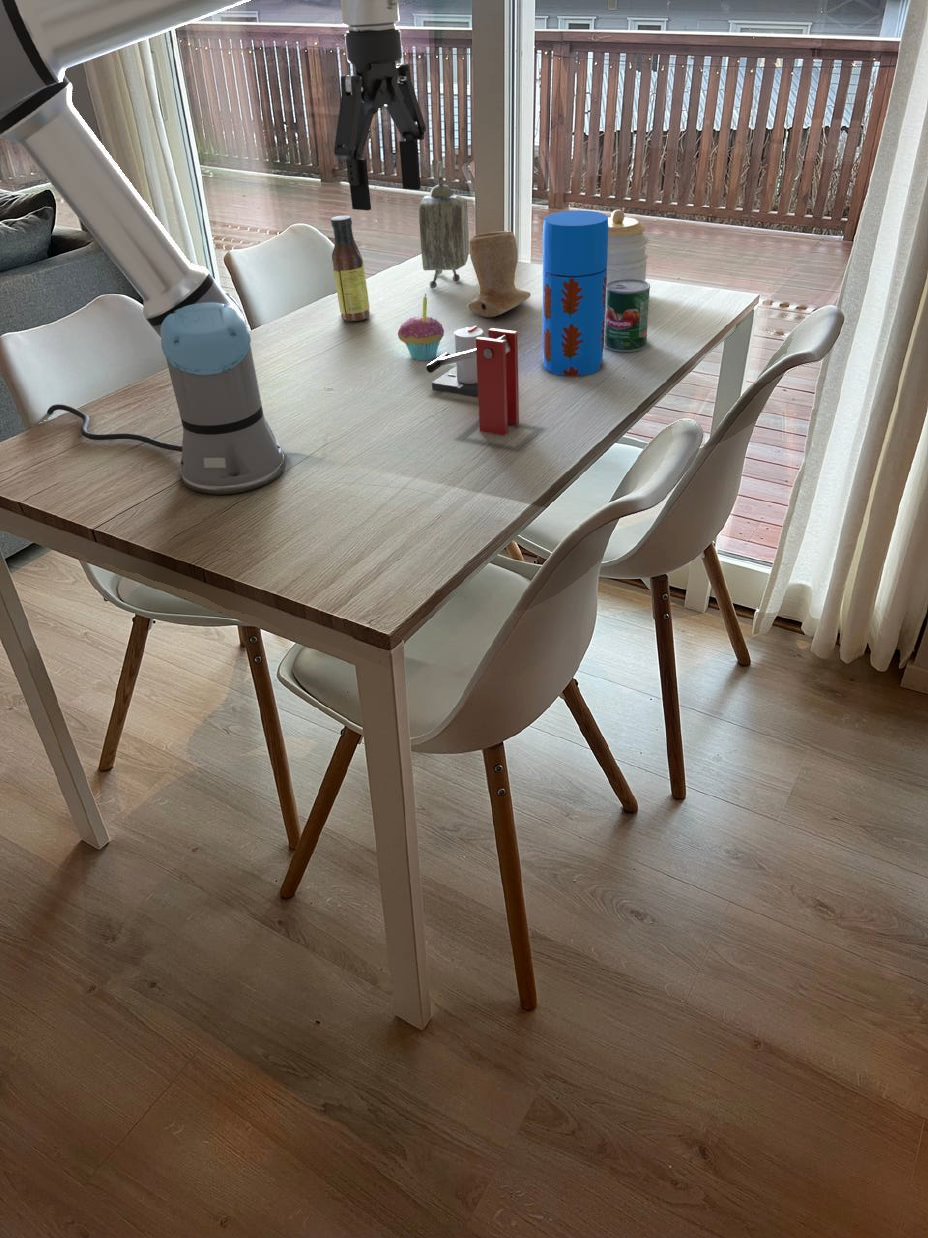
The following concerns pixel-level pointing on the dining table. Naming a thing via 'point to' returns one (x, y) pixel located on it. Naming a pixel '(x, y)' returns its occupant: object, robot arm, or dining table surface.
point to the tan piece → (495, 273)
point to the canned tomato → (626, 315)
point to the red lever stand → (497, 381)
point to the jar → (626, 248)
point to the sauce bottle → (349, 272)
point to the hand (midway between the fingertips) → (387, 198)
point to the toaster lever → (458, 357)
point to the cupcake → (421, 335)
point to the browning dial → (466, 342)
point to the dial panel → (454, 384)
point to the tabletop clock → (443, 230)
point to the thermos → (574, 291)
